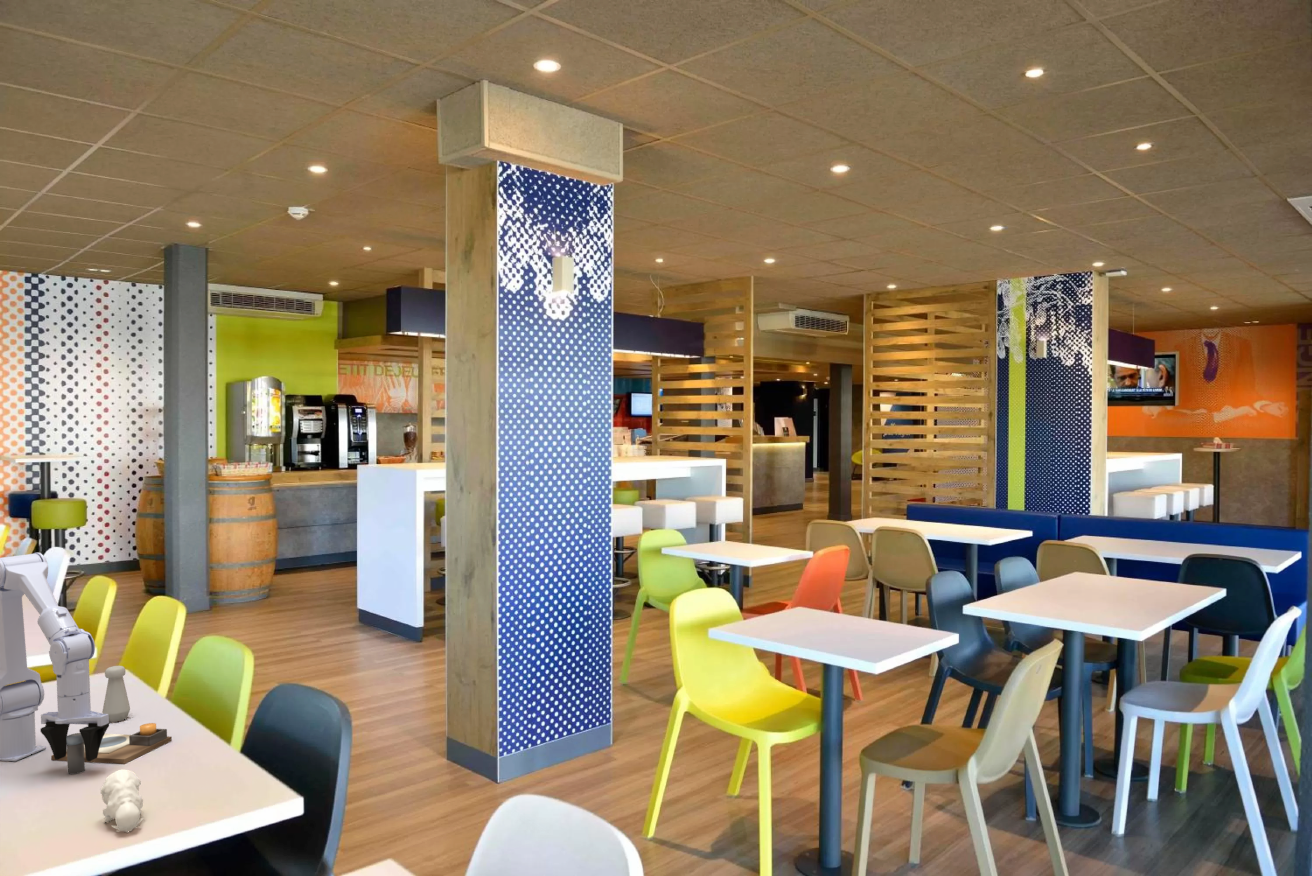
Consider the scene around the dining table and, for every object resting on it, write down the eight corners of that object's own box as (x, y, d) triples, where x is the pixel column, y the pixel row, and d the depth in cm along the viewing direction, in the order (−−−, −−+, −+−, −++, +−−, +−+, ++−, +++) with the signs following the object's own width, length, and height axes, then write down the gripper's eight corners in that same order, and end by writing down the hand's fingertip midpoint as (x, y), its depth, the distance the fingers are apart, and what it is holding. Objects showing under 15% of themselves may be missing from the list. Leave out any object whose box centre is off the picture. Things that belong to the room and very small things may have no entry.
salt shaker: (117, 724, 218) (115, 670, 218) (96, 723, 219) (95, 669, 219) (135, 716, 224) (134, 664, 224) (115, 715, 225) (114, 663, 225)
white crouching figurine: (138, 762, 168) (149, 787, 158) (139, 806, 168) (150, 834, 159) (98, 770, 164) (107, 797, 154) (100, 816, 165) (108, 845, 155)
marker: (63, 774, 186) (62, 737, 186) (76, 768, 190) (74, 732, 189) (76, 774, 186) (75, 738, 186) (88, 769, 189) (87, 733, 189)
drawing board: (51, 760, 195) (50, 746, 195) (102, 737, 208) (102, 724, 208) (124, 764, 191) (123, 749, 191) (171, 741, 205) (171, 727, 205)
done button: (136, 736, 201) (136, 727, 201) (147, 731, 204) (147, 722, 204) (149, 737, 200) (148, 728, 200) (159, 732, 203) (159, 723, 203)
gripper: (27, 698, 185) (29, 764, 185) (88, 700, 182) (90, 767, 182) (56, 688, 192) (58, 752, 192) (115, 689, 189) (118, 754, 189)
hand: (76, 758), depth 188 cm, fingers open, 7 cm apart
